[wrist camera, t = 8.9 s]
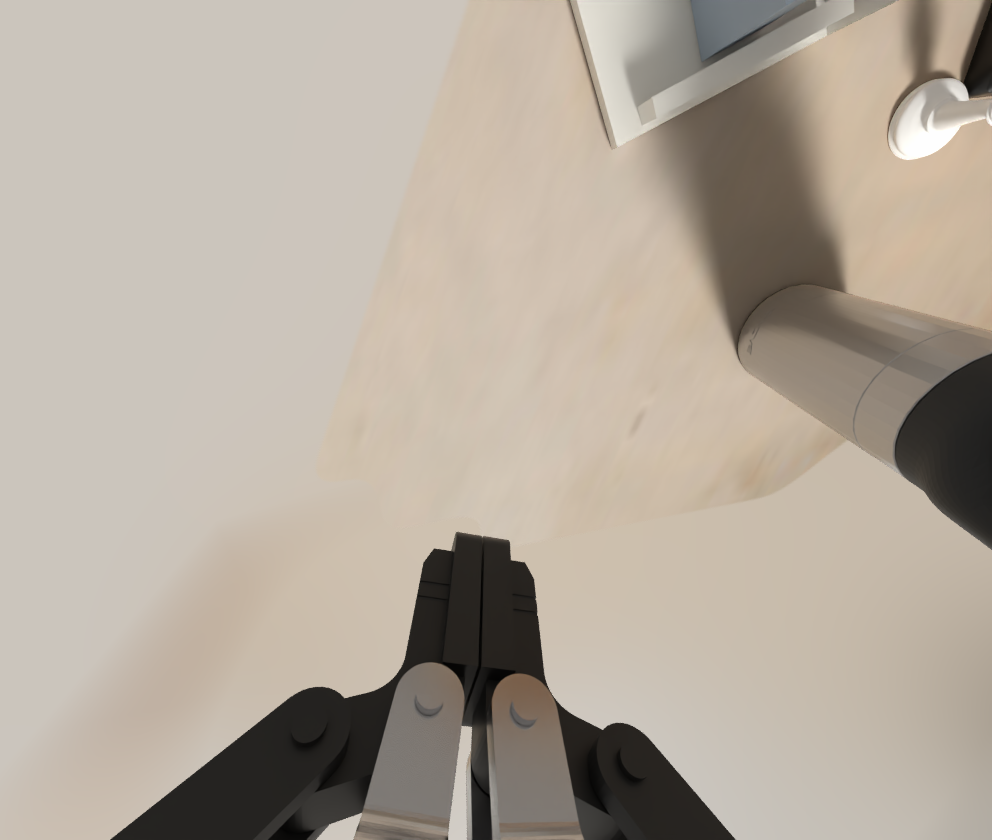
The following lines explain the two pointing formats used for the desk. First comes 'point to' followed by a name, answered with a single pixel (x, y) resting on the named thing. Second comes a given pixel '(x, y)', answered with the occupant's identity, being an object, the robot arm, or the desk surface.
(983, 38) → the multiport hub
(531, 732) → the robot arm
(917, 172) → the desk surface
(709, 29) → the block
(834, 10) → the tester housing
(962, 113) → the chess piece
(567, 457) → the desk surface
